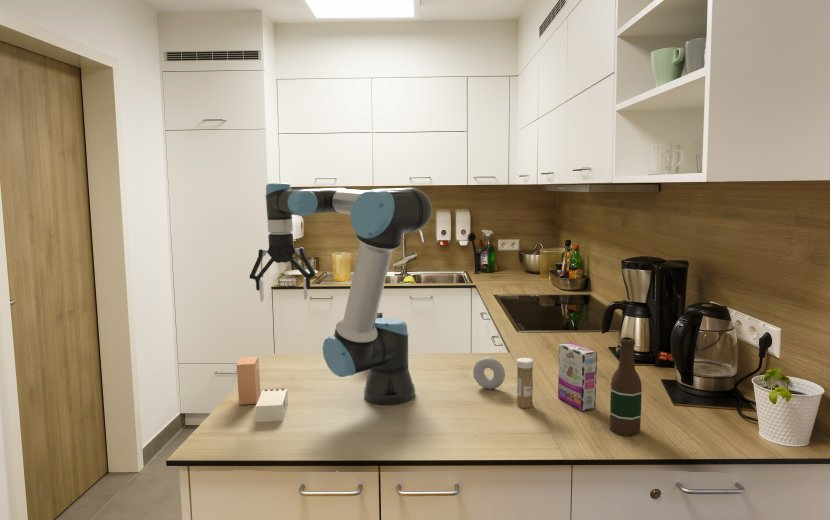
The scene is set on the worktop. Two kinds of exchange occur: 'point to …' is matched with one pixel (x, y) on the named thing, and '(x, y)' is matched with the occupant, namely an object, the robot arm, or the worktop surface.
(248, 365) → the brown box
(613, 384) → the beer bottle
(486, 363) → the donut
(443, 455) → the worktop surface
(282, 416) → the white button box
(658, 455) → the worktop surface
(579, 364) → the candy bar box
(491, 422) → the worktop surface
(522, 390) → the sprinkles bottle
